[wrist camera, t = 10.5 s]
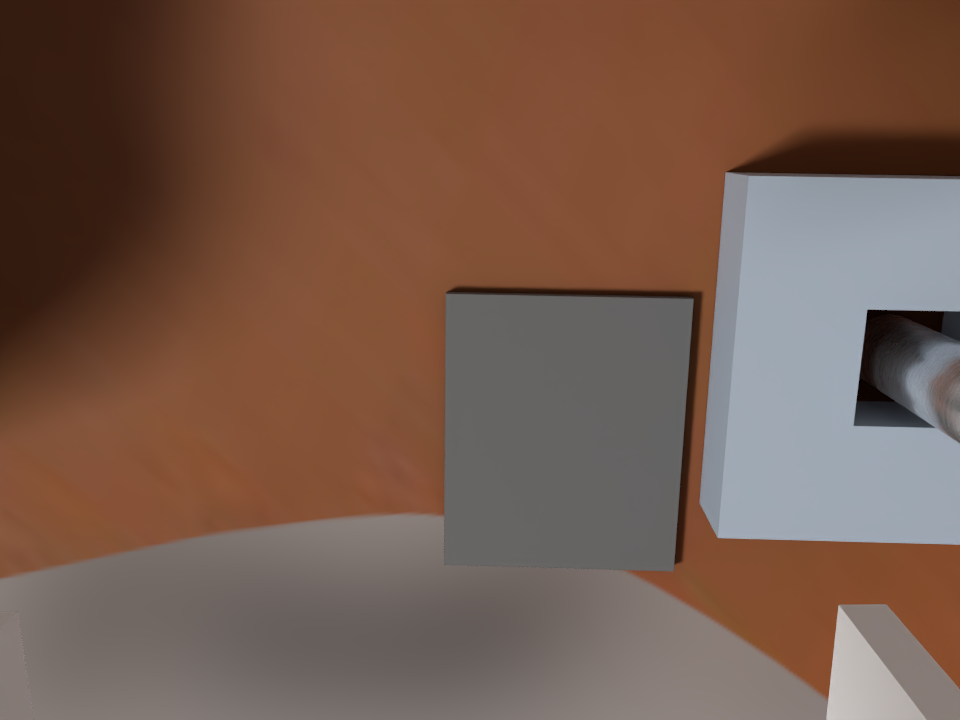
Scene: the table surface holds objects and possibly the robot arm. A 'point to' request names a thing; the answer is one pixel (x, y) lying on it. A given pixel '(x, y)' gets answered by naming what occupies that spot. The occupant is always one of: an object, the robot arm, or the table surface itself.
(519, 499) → the mat
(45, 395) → the table surface
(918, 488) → the socket block
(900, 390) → the pin
